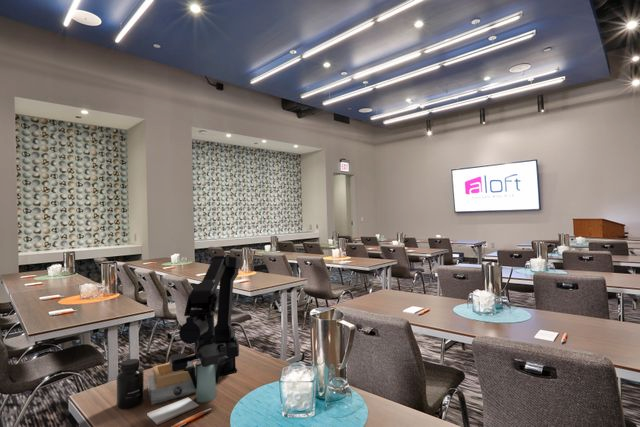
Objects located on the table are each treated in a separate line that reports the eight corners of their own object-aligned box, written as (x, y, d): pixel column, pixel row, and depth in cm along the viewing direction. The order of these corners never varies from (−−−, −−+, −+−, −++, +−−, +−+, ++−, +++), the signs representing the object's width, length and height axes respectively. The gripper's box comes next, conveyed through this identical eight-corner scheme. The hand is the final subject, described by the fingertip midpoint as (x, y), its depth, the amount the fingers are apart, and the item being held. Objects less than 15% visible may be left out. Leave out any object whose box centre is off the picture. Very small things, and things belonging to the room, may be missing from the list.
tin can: (213, 391, 107) (212, 356, 107) (218, 398, 102) (217, 362, 102) (194, 396, 104) (193, 360, 104) (198, 404, 99) (197, 367, 99)
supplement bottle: (132, 411, 97) (131, 367, 97) (111, 409, 98) (110, 366, 98) (149, 398, 104) (148, 357, 104) (129, 397, 105) (128, 356, 105)
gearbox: (193, 376, 118) (193, 356, 118) (202, 391, 107) (202, 369, 107) (147, 388, 110) (146, 367, 110) (151, 405, 100) (151, 382, 100)
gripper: (174, 346, 92) (176, 407, 91) (244, 332, 101) (245, 387, 101) (168, 335, 101) (169, 390, 101) (232, 323, 111) (233, 373, 111)
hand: (205, 385), depth 103 cm, fingers closed on tin can, 5 cm apart
